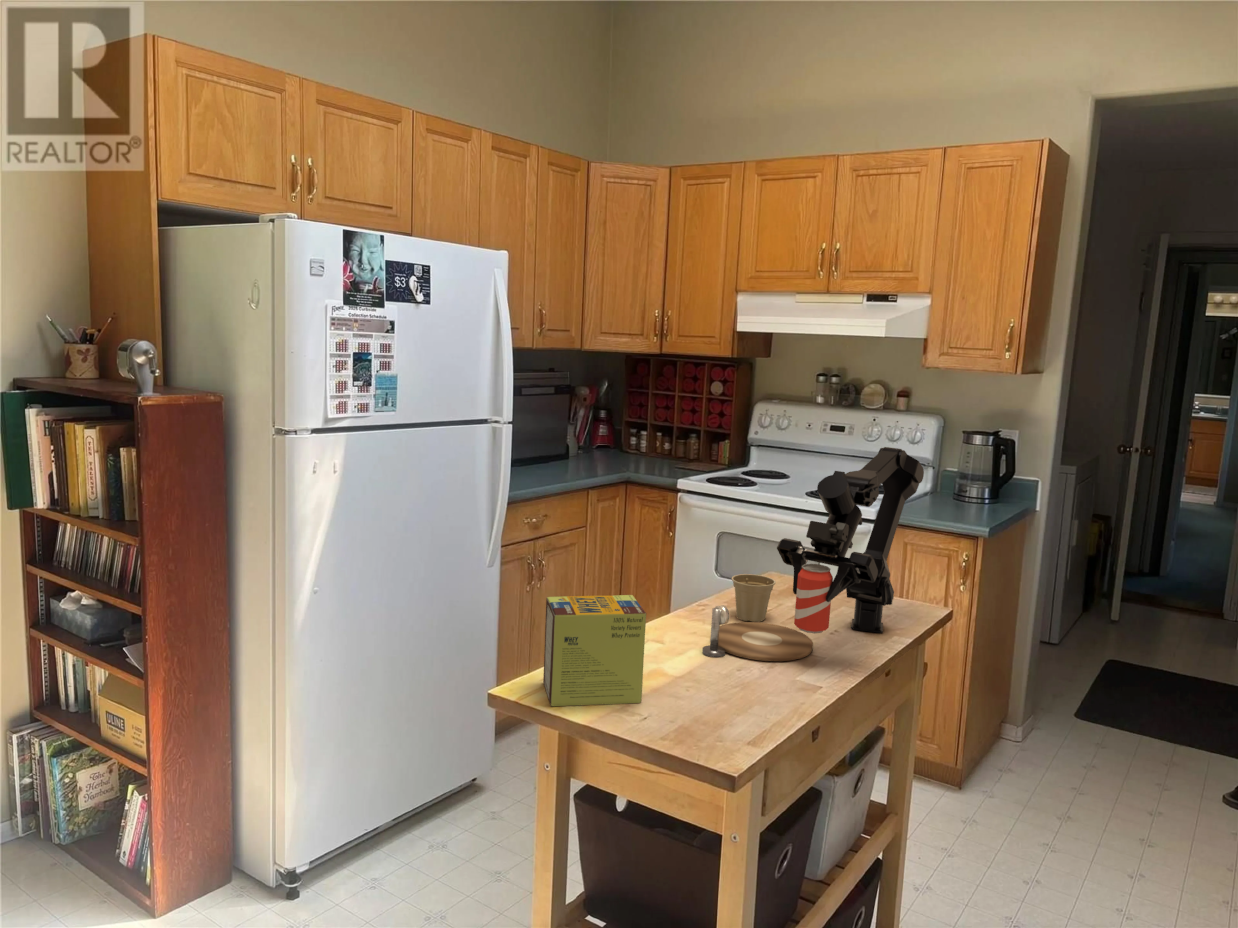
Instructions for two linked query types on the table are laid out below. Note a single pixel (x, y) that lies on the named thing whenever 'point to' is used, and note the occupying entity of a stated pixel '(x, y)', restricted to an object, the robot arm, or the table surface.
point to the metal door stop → (716, 632)
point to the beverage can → (813, 598)
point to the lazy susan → (764, 641)
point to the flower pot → (752, 596)
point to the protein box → (594, 650)
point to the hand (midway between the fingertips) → (810, 596)
